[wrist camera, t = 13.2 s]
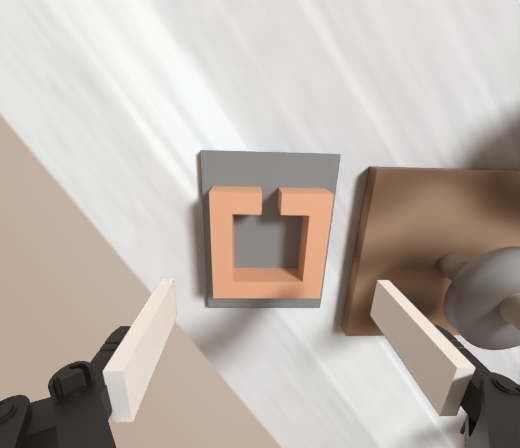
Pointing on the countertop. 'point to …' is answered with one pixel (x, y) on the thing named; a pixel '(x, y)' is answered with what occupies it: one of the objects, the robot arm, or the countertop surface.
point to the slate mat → (265, 213)
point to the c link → (269, 279)
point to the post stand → (441, 251)
